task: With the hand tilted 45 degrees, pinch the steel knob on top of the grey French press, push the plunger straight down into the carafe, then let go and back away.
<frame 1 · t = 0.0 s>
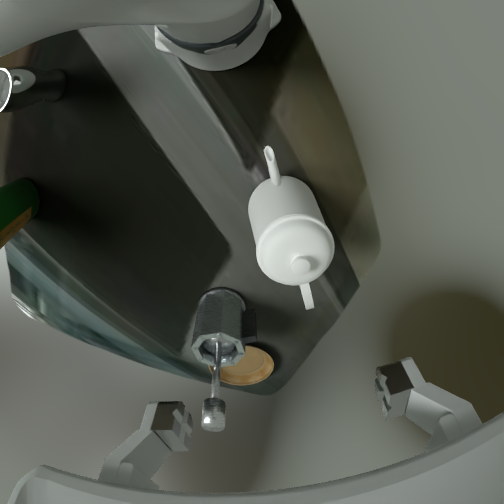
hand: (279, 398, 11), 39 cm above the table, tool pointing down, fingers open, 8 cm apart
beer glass: (54, 85, 36), on the table
plant saucer: (241, 358, 66), on the table
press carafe: (222, 306, 58), on the table
coffeepot: (280, 203, 48), on the table
bottle: (26, 197, 45), on the table
plunger: (216, 379, 42), point 18 cm above the table, slide at 0.0 cm
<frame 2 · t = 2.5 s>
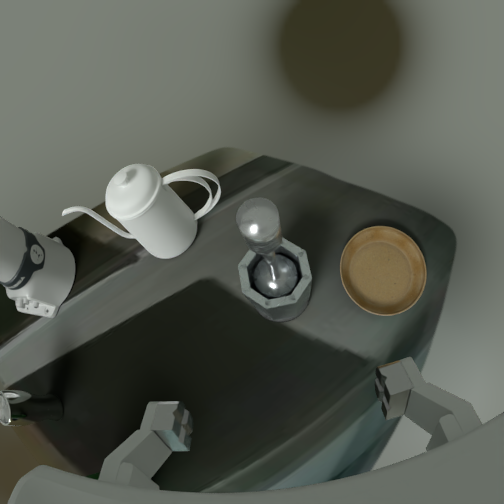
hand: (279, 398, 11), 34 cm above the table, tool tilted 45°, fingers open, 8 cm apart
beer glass: (54, 406, 45), on the table
plant saucer: (381, 273, 45), on the table
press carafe: (281, 293, 47), on the table
coffeepot: (169, 233, 54), on the table
plunger: (269, 254, 30), point 18 cm above the table, slide at 0.0 cm
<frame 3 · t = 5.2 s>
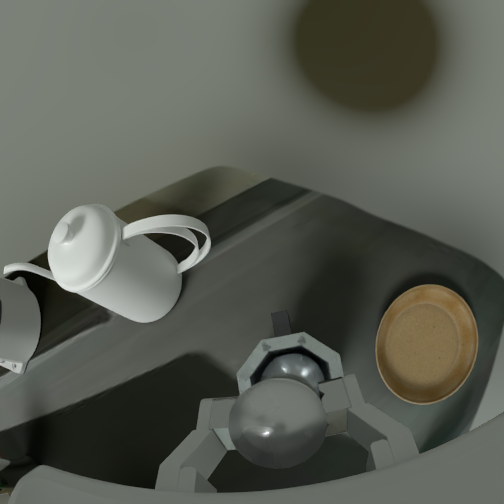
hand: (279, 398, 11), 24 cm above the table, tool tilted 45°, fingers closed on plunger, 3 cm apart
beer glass: (34, 469, 31), on the table
plant saucer: (423, 345, 32), on the table
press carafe: (294, 377, 33), on the table
coffeepot: (146, 286, 40), on the table
plunger: (288, 395, 16), point 18 cm above the table, slide at 0.0 cm, touching gripper
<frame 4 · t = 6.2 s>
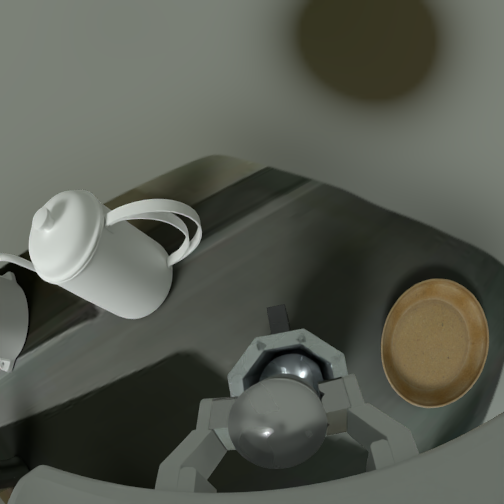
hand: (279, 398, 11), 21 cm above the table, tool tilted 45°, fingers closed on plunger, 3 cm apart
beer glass: (23, 470, 28), on the table
plant saucer: (431, 344, 29), on the table
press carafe: (293, 378, 30), on the table
coffeepot: (136, 280, 37), on the table
plunger: (287, 395, 16), point 15 cm above the table, slide at 2.8 cm, touching gripper
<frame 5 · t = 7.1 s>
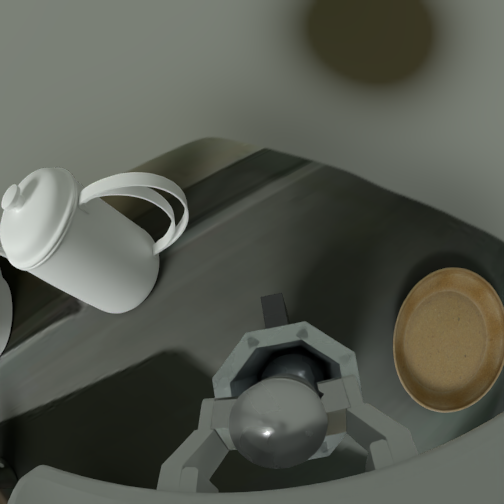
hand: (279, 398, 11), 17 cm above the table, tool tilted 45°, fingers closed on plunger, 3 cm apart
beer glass: (9, 473, 25), on the table
plant saucer: (446, 341, 25), on the table
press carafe: (293, 381, 26), on the table
coffeepot: (121, 272, 34), on the table
plunger: (288, 395, 16), point 11 cm above the table, slide at 6.9 cm, touching gripper
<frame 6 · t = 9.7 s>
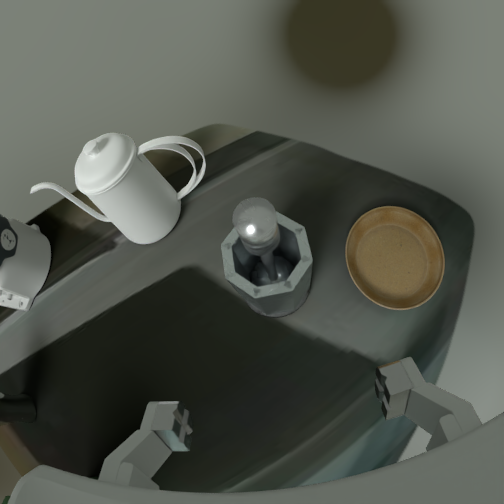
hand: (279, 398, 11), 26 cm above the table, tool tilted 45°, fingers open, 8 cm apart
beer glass: (28, 408, 38), on the table
plant saucer: (392, 261, 39), on the table
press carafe: (275, 283, 40), on the table
coffeepot: (150, 216, 47), on the table
plunger: (266, 255, 29), point 11 cm above the table, slide at 7.0 cm
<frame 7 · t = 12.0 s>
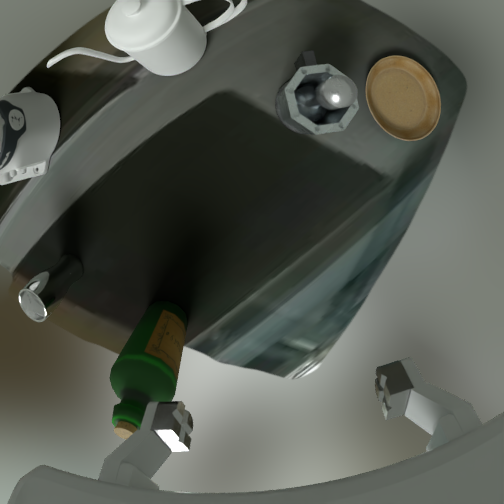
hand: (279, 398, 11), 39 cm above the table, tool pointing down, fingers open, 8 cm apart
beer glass: (72, 266, 53), on the table
plant saucer: (398, 98, 40), on the table
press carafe: (305, 105, 41), on the table
coffeepot: (171, 47, 37), on the table
bottle: (167, 316, 57), on the table
plunger: (321, 98, 31), point 11 cm above the table, slide at 7.0 cm
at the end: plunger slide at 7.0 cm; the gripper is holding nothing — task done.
